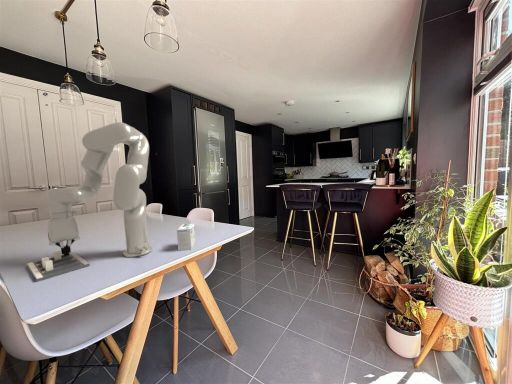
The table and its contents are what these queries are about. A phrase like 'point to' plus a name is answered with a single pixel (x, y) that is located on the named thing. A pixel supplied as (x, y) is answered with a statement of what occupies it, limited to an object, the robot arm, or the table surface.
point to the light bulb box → (186, 236)
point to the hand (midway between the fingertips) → (66, 254)
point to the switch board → (57, 266)
